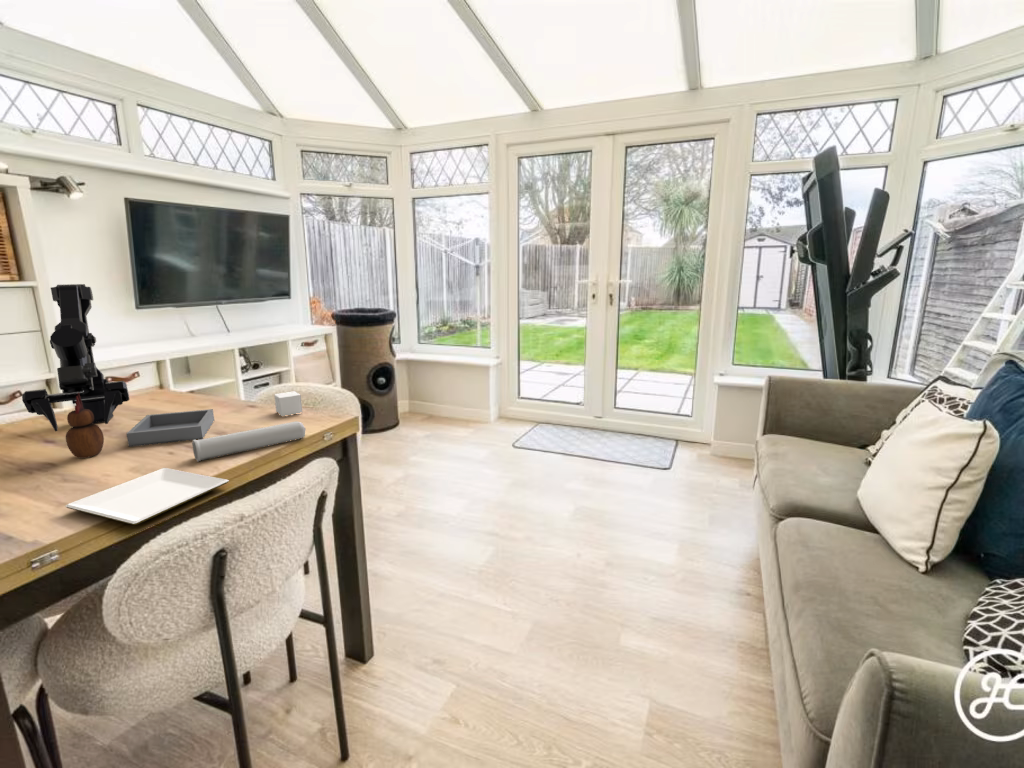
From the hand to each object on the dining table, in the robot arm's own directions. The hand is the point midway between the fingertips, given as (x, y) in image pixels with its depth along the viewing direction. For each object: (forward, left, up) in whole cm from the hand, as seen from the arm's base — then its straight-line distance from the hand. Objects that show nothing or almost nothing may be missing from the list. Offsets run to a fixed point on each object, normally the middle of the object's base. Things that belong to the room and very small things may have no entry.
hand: (81, 426), depth 116 cm
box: (+15, +13, -8) cm, 21 cm away
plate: (+21, -32, -8) cm, 39 cm away
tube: (+36, -7, -8) cm, 37 cm away
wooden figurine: (0, +1, -8) cm, 8 cm away
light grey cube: (+43, +22, -8) cm, 49 cm away
